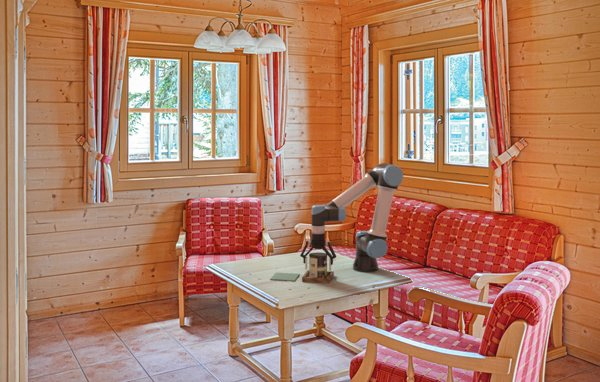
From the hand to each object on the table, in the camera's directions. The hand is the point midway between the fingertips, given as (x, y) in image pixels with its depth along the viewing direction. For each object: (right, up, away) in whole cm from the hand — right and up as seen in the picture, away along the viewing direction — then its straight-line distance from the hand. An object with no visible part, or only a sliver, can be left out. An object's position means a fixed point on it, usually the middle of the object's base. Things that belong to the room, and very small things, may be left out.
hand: (318, 269), depth 331 cm
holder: (0, -5, +1) cm, 5 cm away
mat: (-19, -5, +4) cm, 20 cm away
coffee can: (0, -5, +1) cm, 5 cm away
